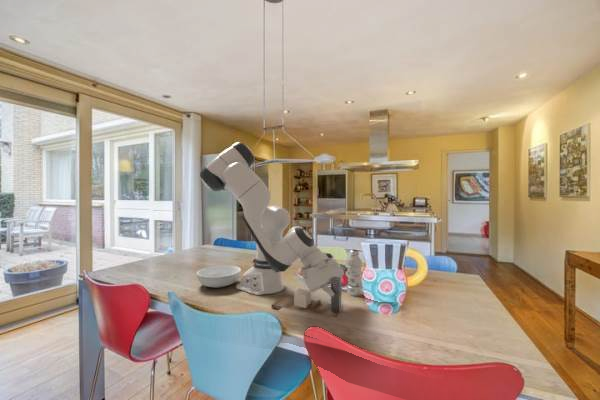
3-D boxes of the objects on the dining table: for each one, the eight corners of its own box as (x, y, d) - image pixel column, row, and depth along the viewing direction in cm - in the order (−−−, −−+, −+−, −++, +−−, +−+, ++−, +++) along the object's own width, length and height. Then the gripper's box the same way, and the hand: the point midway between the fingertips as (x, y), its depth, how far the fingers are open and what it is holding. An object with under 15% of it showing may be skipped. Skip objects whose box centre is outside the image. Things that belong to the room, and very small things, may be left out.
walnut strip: (271, 307, 101) (271, 273, 101) (283, 298, 110) (283, 267, 110) (336, 320, 90) (336, 282, 90) (343, 309, 100) (343, 274, 99)
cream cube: (294, 305, 100) (294, 292, 100) (299, 301, 104) (299, 288, 104) (306, 308, 98) (306, 294, 98) (311, 303, 102) (310, 290, 102)
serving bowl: (246, 278, 138) (246, 265, 138) (232, 293, 117) (232, 277, 117) (208, 277, 140) (208, 264, 139) (188, 291, 119) (188, 276, 119)
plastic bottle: (351, 300, 109) (351, 252, 108) (344, 294, 115) (344, 249, 115) (365, 298, 110) (365, 251, 110) (357, 292, 117) (357, 248, 117)
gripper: (303, 263, 91) (327, 297, 86) (333, 253, 108) (355, 281, 102) (293, 273, 94) (316, 307, 88) (324, 262, 110) (345, 290, 105)
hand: (337, 293), depth 95 cm, fingers closed on walnut strip, 4 cm apart
